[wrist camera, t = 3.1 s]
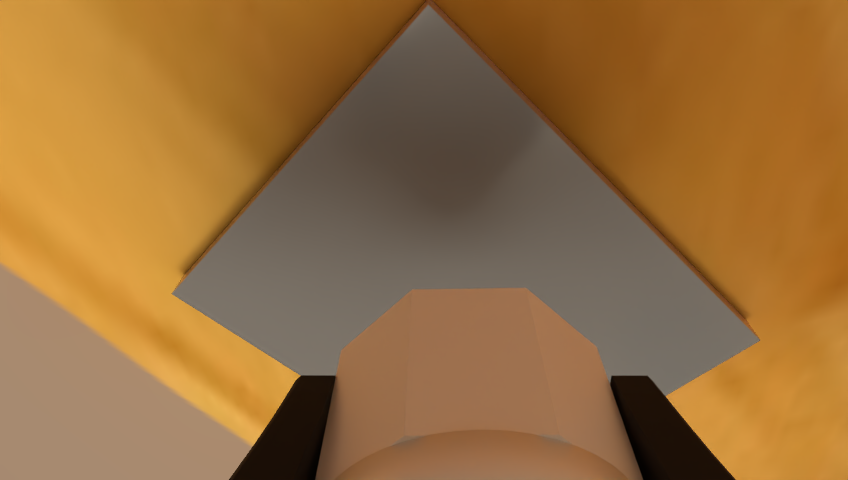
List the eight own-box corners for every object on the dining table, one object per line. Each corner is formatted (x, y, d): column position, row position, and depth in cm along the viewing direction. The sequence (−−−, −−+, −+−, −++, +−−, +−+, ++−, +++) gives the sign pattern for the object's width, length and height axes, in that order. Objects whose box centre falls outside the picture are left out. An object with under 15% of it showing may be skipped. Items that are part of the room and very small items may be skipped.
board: (746, 320, 20) (801, 398, 17) (490, 475, 24) (497, 557, 21) (429, -3, 14) (425, 26, 11) (183, 275, 19) (136, 347, 16)
